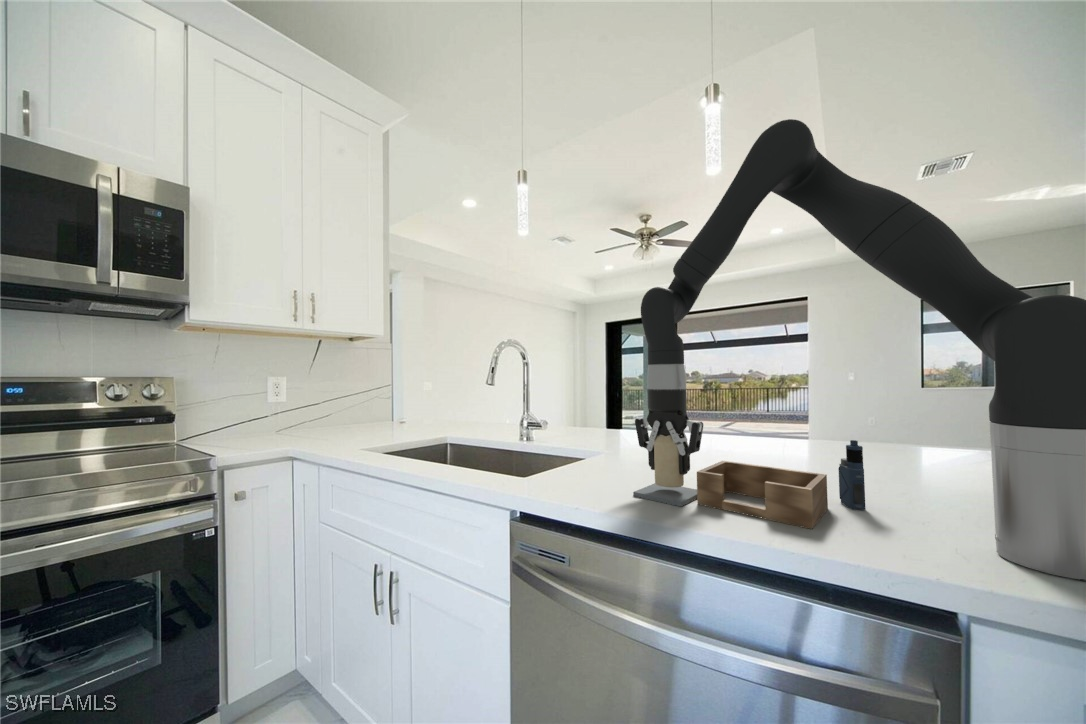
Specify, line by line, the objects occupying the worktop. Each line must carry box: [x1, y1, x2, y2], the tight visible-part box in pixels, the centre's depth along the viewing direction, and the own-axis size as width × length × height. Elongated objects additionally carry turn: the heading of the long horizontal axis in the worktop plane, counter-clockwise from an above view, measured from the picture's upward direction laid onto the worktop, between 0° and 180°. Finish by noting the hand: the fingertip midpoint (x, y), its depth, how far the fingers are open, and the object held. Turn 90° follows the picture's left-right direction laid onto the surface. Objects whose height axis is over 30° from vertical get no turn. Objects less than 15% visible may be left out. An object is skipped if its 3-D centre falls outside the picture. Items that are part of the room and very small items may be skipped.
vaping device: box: [838, 439, 867, 511], centre depth 72 cm, size 3×5×12 cm, turn 166°
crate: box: [696, 460, 829, 530], centre depth 73 cm, size 18×13×6 cm
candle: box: [654, 435, 685, 487], centre depth 80 cm, size 6×6×10 cm
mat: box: [632, 482, 697, 507], centre depth 80 cm, size 10×10×1 cm
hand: (668, 471), depth 80 cm, fingers closed on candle, 5 cm apart
